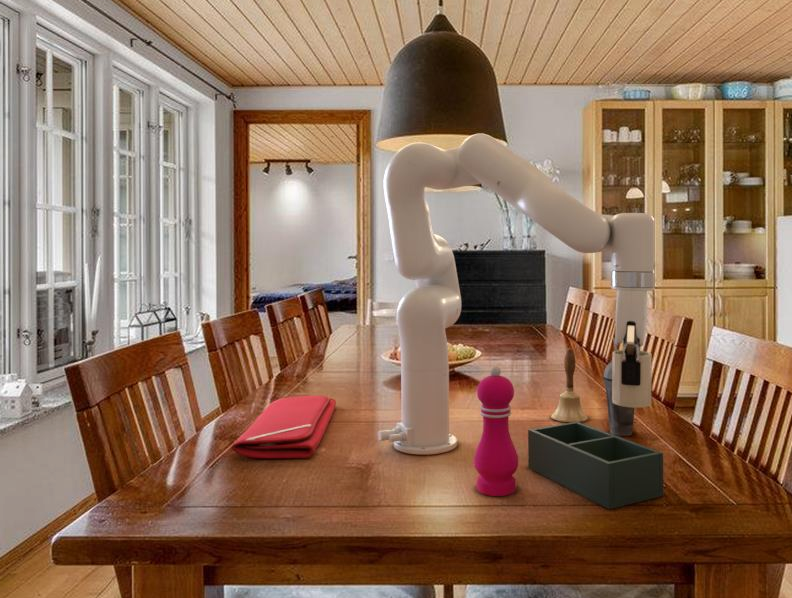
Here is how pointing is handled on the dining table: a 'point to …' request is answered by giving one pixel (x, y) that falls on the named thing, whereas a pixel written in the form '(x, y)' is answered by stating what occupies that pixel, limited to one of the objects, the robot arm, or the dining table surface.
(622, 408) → the beverage cup
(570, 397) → the hand bell
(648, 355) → the cup
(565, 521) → the dining table surface
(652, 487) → the storage box
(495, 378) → the pepper mill
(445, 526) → the dining table surface
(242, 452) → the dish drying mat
